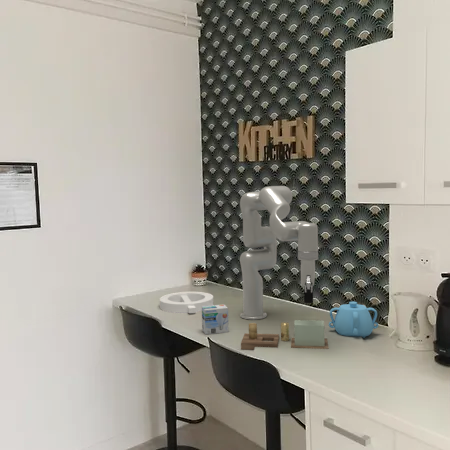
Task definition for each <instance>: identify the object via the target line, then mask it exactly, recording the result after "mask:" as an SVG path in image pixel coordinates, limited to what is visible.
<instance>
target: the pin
mask: <svg viewBox="0 0 450 450" xmlns="http://www.w3.org/2000/svg"><path fill="white" fill-rule="evenodd" d="M280 341H281V342H289V341H290V322H287V321H282V322H280Z"/></svg>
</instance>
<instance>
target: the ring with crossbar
mask: <svg viewBox="0 0 450 450" xmlns="http://www.w3.org/2000/svg"><path fill="white" fill-rule="evenodd" d="M212 305H215V304H214V295H213V294H211V293H210V292H203V291H179V292H172V293H167V294H164V295H162V296H161V297H159V308H160V310H161V309H162V310H161V311H163V310H164V312H167V311H168V313H173V312H174V313H175V314H186V313H187V314H188V313H189V314H196V313H198V312H202V306H212ZM174 313H173V314H174Z"/></svg>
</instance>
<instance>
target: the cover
mask: <svg viewBox="0 0 450 450" xmlns="http://www.w3.org/2000/svg"><path fill="white" fill-rule="evenodd" d="M293 326H294V328H293V330H294V338H295V346H325V339H324V338H325V321H324V320H314V319H313V320H309V319H308V320H307V319H303V320H302V319H301V320H299V319H294V325H293Z"/></svg>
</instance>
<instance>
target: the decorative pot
mask: <svg viewBox="0 0 450 450" xmlns="http://www.w3.org/2000/svg"><path fill="white" fill-rule="evenodd" d="M334 311H336V314H335V316H334V317H333V312H334ZM369 311H373V312H374V316H373V317H372V316H371V313H370V312H369ZM329 317H330V320H331V321H329V322H328V326H329V328H331V329H335V331H336V332H337V334H339V335H341V336H345V337H361V338H363V339H366V337H368V336H370V335H372V332H373V330H375V329H378V328H379V323H378V322H377V321H376V320H377V318H378V311H377V310H376V308H373V307H366V306H365V305H363V304H359V303H358V302H357V301H349V302H348V304H347V303H346V304H345V303H344V304H341V305H340V306H339V307H333V308H331V309H330V310H329ZM372 318H373V319H372ZM331 324H332V325H331Z"/></svg>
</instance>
